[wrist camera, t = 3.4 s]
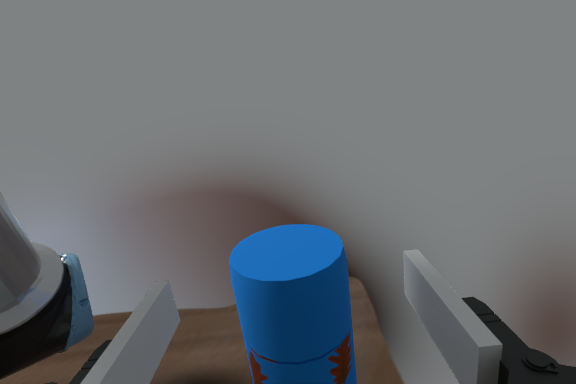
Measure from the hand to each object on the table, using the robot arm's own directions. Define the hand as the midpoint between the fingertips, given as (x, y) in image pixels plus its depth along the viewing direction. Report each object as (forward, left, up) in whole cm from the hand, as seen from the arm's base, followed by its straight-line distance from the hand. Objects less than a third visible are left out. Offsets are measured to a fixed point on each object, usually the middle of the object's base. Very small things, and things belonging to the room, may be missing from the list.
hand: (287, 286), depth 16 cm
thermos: (-9, +5, -28) cm, 30 cm away
